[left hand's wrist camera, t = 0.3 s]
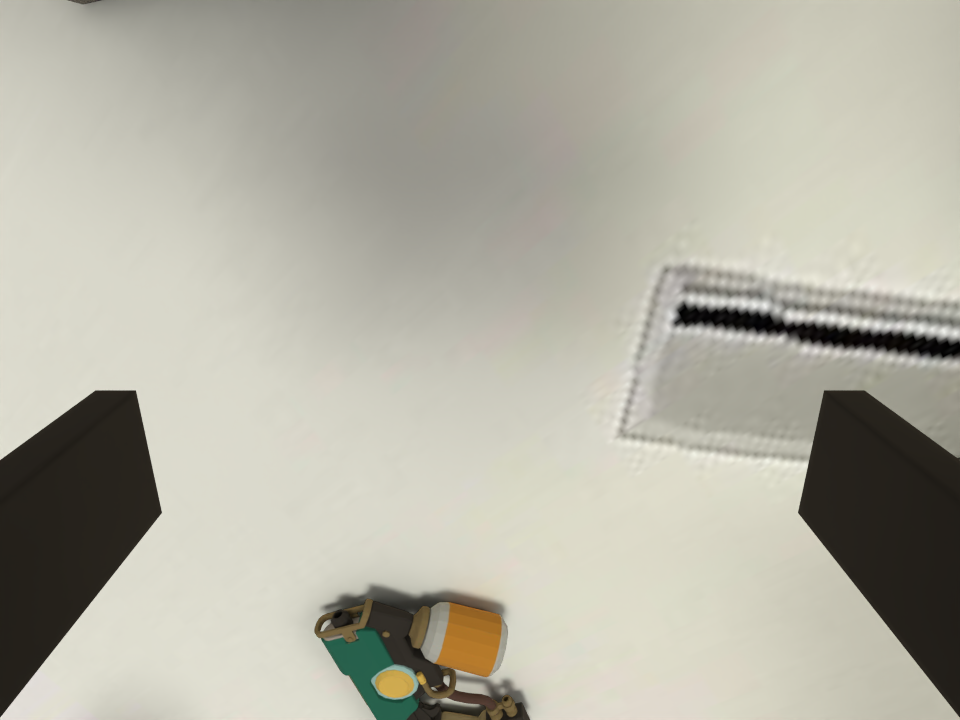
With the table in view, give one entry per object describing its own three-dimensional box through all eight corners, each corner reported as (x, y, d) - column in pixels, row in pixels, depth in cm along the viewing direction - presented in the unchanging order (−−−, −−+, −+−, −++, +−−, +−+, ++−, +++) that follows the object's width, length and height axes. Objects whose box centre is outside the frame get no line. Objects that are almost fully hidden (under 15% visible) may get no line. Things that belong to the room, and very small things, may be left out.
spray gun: (530, 731, 53) (352, 734, 54) (523, 577, 46) (318, 583, 47) (532, 784, 49) (340, 785, 50) (525, 624, 42) (302, 629, 43)
